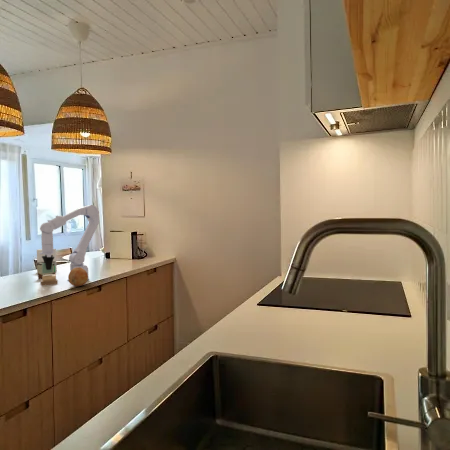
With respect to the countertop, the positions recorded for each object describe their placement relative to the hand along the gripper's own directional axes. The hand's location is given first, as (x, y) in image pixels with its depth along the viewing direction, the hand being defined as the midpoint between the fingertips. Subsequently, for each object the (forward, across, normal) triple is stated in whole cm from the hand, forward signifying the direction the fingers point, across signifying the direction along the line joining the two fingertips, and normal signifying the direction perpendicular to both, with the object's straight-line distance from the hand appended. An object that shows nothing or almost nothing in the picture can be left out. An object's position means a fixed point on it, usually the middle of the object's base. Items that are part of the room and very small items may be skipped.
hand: (48, 269), depth 215 cm
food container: (+8, -19, +2) cm, 21 cm away
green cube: (+2, 0, 0) cm, 2 cm away
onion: (+8, +18, +13) cm, 24 cm away
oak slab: (+6, 0, 0) cm, 6 cm away
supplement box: (+8, -51, +3) cm, 52 cm away
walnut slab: (+8, 0, 0) cm, 9 cm away
